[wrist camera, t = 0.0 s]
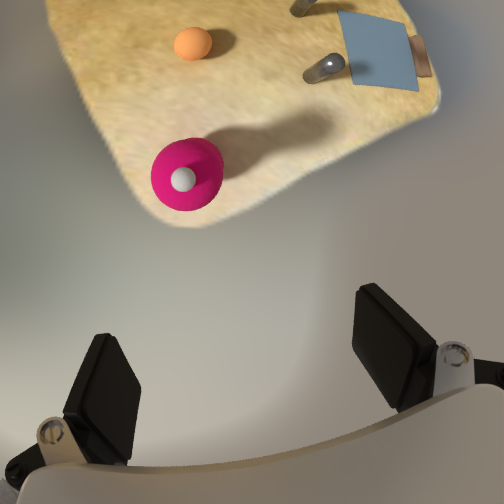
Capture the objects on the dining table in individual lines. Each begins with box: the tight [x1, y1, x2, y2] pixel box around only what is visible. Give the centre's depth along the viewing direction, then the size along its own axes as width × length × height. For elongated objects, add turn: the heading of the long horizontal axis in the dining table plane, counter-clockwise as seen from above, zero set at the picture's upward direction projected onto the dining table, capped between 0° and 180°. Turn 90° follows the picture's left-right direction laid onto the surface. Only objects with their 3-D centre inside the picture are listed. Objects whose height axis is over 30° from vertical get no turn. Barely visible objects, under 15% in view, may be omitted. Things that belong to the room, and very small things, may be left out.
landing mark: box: [337, 10, 419, 92], centre depth 33 cm, size 14×14×1 cm
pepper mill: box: [151, 138, 223, 211], centre depth 27 cm, size 7×7×20 cm
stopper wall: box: [408, 35, 431, 78], centre depth 33 cm, size 8×2×2 cm, turn 8°
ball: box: [174, 27, 212, 61], centre depth 28 cm, size 5×5×5 cm
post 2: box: [303, 53, 345, 84], centre depth 30 cm, size 2×2×9 cm
